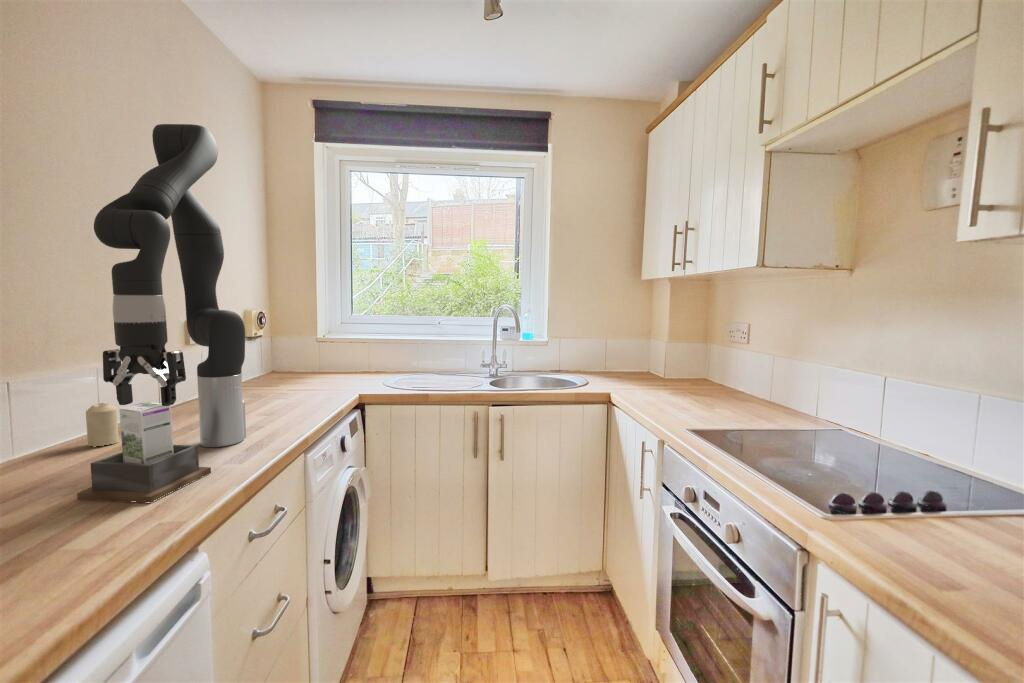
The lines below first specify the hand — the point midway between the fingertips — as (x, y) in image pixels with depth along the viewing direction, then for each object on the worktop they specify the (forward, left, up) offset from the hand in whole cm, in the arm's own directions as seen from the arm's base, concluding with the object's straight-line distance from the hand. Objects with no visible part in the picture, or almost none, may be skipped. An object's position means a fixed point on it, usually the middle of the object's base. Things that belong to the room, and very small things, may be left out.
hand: (147, 404), depth 84 cm
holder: (0, 0, -16) cm, 16 cm away
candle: (-21, -32, -16) cm, 42 cm away
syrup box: (0, 0, -15) cm, 15 cm away
